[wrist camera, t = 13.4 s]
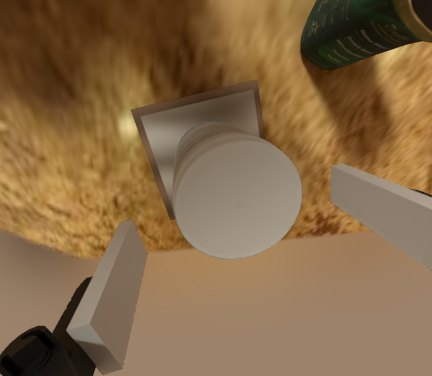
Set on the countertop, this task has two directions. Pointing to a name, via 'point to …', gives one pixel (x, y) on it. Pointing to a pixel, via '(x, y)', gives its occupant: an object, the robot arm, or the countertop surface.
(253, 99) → the plinth
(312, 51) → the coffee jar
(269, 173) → the supplement tub
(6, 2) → the countertop surface
